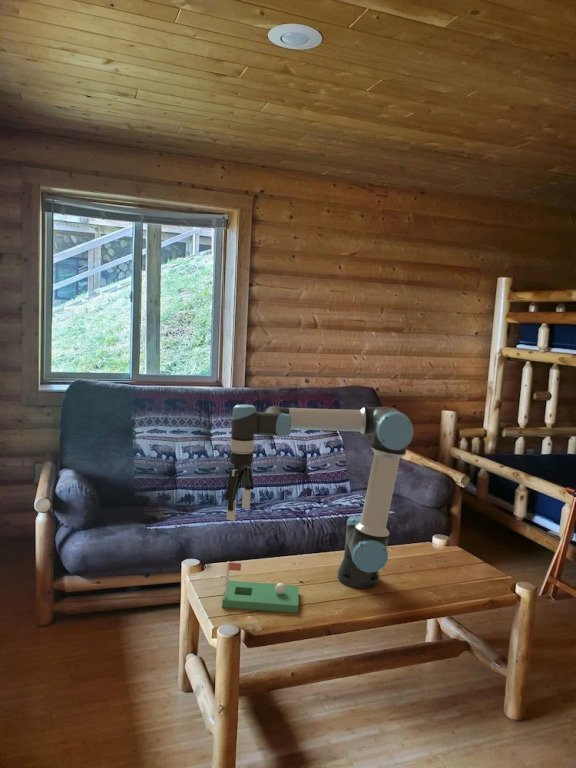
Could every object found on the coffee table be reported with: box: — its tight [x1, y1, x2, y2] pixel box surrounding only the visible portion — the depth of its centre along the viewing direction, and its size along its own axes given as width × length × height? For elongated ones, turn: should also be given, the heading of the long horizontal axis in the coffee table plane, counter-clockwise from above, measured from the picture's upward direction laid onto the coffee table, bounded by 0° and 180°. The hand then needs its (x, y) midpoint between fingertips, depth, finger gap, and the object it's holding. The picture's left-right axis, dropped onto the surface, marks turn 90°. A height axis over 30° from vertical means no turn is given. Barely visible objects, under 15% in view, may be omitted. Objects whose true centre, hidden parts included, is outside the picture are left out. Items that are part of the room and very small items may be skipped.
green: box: [221, 580, 300, 614], centre depth 192 cm, size 24×14×2 cm, turn 89°
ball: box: [275, 582, 286, 595], centre depth 192 cm, size 4×4×4 cm
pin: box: [224, 561, 242, 599], centre depth 186 cm, size 4×1×12 cm, turn 89°
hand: (238, 513), depth 197 cm, fingers open, 13 cm apart
